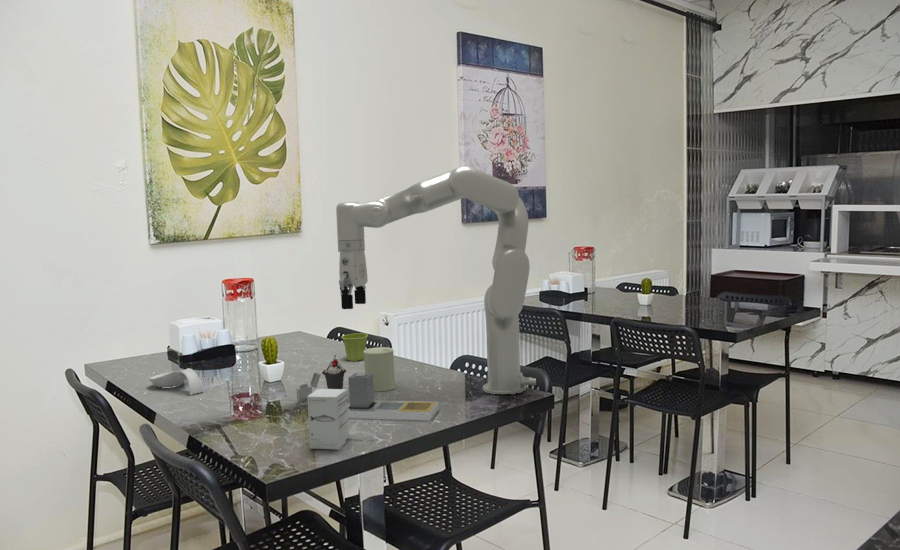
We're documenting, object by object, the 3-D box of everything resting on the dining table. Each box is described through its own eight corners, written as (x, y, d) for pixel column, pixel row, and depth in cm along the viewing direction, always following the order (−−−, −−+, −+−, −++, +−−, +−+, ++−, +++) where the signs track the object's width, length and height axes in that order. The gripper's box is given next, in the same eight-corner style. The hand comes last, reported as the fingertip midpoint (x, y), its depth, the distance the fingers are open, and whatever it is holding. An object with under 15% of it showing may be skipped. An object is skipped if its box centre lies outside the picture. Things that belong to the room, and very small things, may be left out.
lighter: (299, 404, 206) (298, 376, 205) (297, 402, 207) (295, 375, 206) (322, 399, 210) (320, 372, 209) (319, 398, 211) (318, 371, 211)
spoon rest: (143, 387, 233) (141, 366, 232) (178, 380, 241) (176, 359, 241) (180, 399, 217) (178, 375, 216) (215, 390, 226) (214, 368, 225)
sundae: (337, 411, 197) (334, 357, 196) (319, 408, 201) (316, 355, 199) (353, 405, 203) (350, 352, 201) (335, 402, 206) (332, 350, 205)
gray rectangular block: (374, 410, 193) (372, 372, 192) (368, 415, 189) (366, 377, 187) (356, 409, 194) (354, 372, 193) (350, 415, 190) (348, 376, 189)
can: (390, 391, 215) (388, 352, 214) (360, 391, 217) (358, 351, 216) (399, 383, 224) (397, 345, 223) (370, 383, 226) (368, 345, 225)
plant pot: (367, 362, 256) (366, 337, 256) (340, 363, 257) (339, 338, 256) (370, 356, 266) (369, 332, 265) (344, 357, 266) (343, 333, 265)
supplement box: (308, 449, 168) (305, 396, 166) (321, 439, 175) (318, 387, 173) (339, 450, 166) (336, 396, 165) (350, 440, 173) (347, 388, 172)
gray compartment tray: (439, 412, 192) (438, 401, 192) (430, 424, 183) (429, 412, 182) (353, 410, 197) (352, 399, 197) (339, 421, 188) (339, 410, 187)
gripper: (352, 248, 196) (355, 311, 198) (374, 244, 213) (377, 302, 215) (326, 248, 198) (329, 310, 200) (350, 244, 215) (353, 301, 217)
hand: (354, 306), depth 207 cm, fingers open, 9 cm apart
